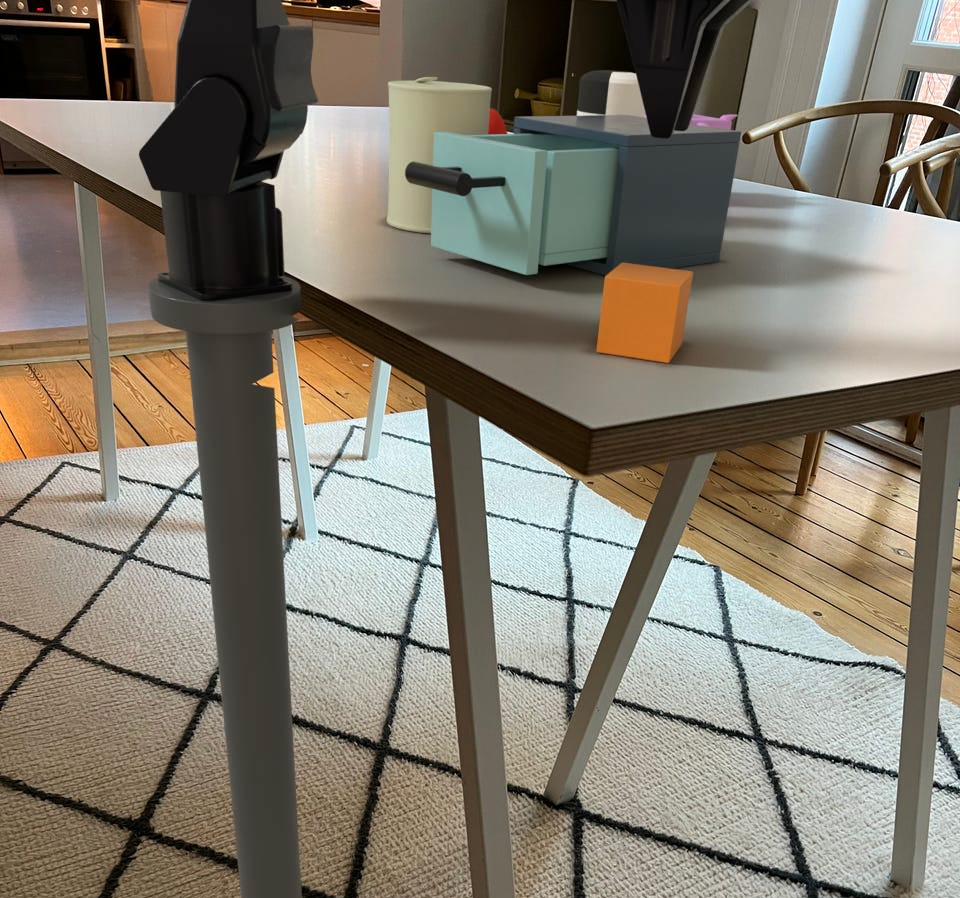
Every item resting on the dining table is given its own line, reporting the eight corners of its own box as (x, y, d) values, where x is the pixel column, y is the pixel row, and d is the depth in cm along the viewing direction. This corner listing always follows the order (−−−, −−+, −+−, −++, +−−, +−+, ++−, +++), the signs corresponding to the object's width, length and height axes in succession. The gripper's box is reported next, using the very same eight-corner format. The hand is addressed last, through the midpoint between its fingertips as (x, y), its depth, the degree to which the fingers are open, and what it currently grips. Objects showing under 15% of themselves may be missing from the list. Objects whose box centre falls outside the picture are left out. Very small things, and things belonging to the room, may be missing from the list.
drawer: (477, 282, 72) (483, 153, 67) (382, 251, 79) (383, 133, 74) (639, 259, 82) (654, 146, 77) (542, 234, 89) (551, 128, 84)
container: (546, 213, 103) (558, 67, 96) (592, 207, 108) (607, 68, 101) (606, 226, 99) (624, 74, 92) (651, 219, 104) (671, 74, 97)
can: (453, 213, 100) (458, 75, 94) (503, 231, 93) (513, 84, 87) (369, 218, 96) (369, 73, 89) (416, 236, 89) (419, 81, 83)
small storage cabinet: (611, 277, 80) (629, 135, 74) (505, 247, 87) (514, 116, 82) (719, 261, 87) (741, 131, 82) (612, 234, 95) (627, 114, 90)
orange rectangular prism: (668, 363, 60) (680, 285, 58) (595, 352, 62) (604, 275, 59) (681, 345, 64) (693, 271, 62) (612, 334, 65) (621, 262, 63)
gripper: (897, -282, 39) (805, 166, 47) (896, -192, 54) (826, 134, 62) (613, -278, 41) (573, 143, 50) (687, -194, 57) (648, 118, 65)
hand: (669, 134), depth 56 cm, fingers open, 5 cm apart
